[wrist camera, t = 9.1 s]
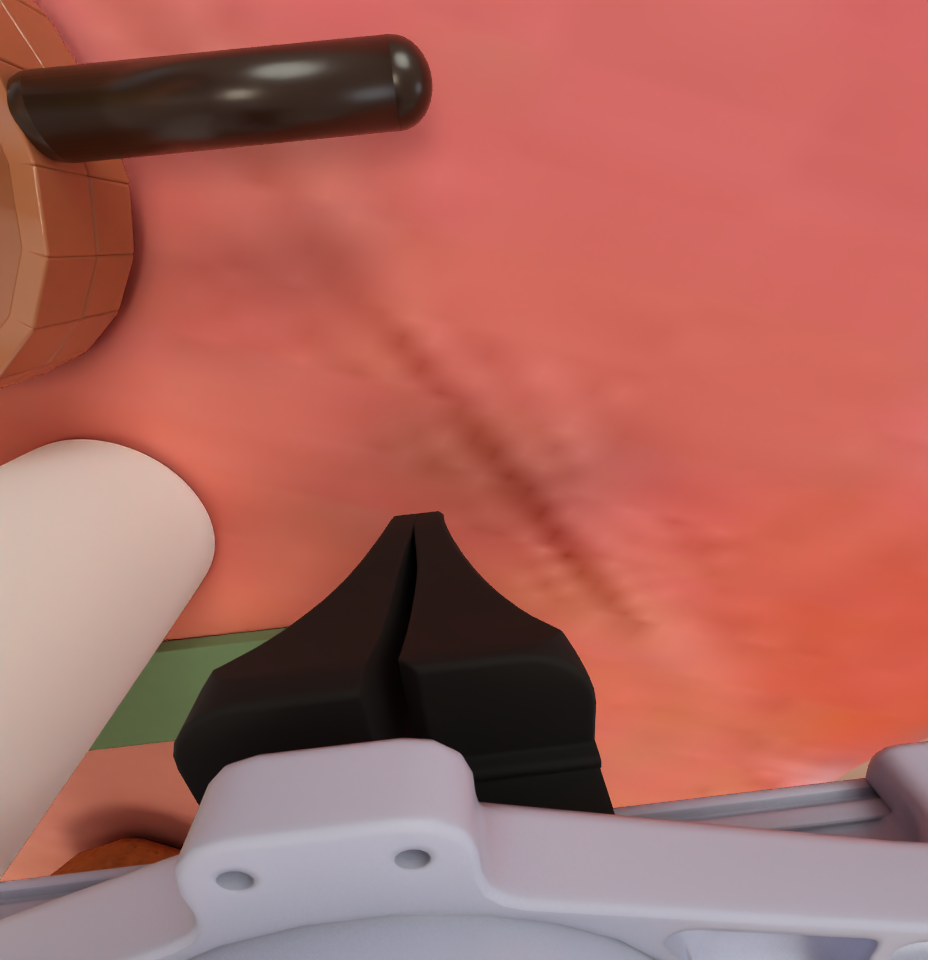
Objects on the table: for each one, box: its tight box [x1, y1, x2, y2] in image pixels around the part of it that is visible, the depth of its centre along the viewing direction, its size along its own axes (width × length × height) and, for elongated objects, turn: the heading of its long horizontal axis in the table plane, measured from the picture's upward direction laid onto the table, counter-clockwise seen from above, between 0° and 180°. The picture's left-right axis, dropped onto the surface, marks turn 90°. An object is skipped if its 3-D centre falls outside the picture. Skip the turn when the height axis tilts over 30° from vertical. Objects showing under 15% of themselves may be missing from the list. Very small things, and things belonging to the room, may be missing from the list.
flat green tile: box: [88, 628, 286, 751], centre depth 19 cm, size 5×12×1 cm, turn 95°
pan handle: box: [6, 34, 432, 163], centre depth 9 cm, size 1×8×1 cm, turn 95°
